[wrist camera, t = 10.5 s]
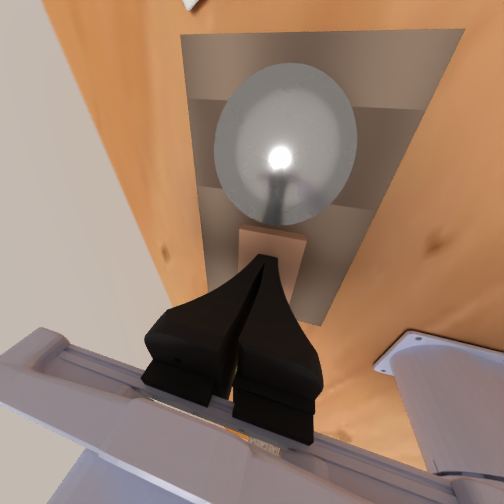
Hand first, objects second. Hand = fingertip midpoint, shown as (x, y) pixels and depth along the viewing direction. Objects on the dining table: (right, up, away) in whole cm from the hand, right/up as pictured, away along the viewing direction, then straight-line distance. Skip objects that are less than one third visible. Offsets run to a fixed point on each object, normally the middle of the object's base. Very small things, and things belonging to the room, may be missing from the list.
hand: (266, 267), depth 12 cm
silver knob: (+2, +8, 0) cm, 8 cm away
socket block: (+1, +5, +2) cm, 5 cm away
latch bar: (0, -1, +1) cm, 2 cm away
